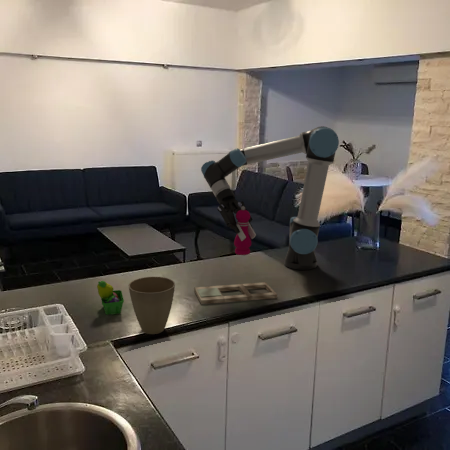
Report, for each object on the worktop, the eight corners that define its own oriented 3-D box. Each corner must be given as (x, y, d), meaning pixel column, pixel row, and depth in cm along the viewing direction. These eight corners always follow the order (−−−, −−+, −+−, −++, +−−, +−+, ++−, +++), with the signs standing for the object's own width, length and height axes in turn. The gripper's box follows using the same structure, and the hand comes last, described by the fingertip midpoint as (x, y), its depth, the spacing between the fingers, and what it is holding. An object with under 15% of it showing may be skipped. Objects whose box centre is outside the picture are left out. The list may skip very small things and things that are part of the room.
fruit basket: (124, 314, 178) (123, 284, 175) (98, 317, 176) (97, 286, 173) (121, 302, 189) (120, 274, 186) (97, 304, 186) (96, 276, 184)
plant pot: (132, 320, 173) (131, 276, 170) (176, 320, 174) (175, 276, 170) (127, 340, 159) (125, 292, 155) (174, 339, 160) (174, 292, 156)
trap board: (265, 285, 209) (265, 281, 208) (277, 298, 195) (277, 293, 195) (194, 291, 201) (194, 286, 201) (201, 304, 188) (201, 299, 188)
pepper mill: (231, 251, 212) (231, 205, 208) (246, 249, 215) (247, 204, 210) (238, 256, 206) (238, 208, 201) (254, 254, 209) (255, 207, 204)
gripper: (235, 196, 223) (260, 239, 214) (202, 200, 211) (227, 246, 203) (243, 185, 217) (269, 229, 209) (210, 189, 206) (236, 236, 198)
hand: (248, 238), depth 206 cm, fingers closed on pepper mill, 5 cm apart
